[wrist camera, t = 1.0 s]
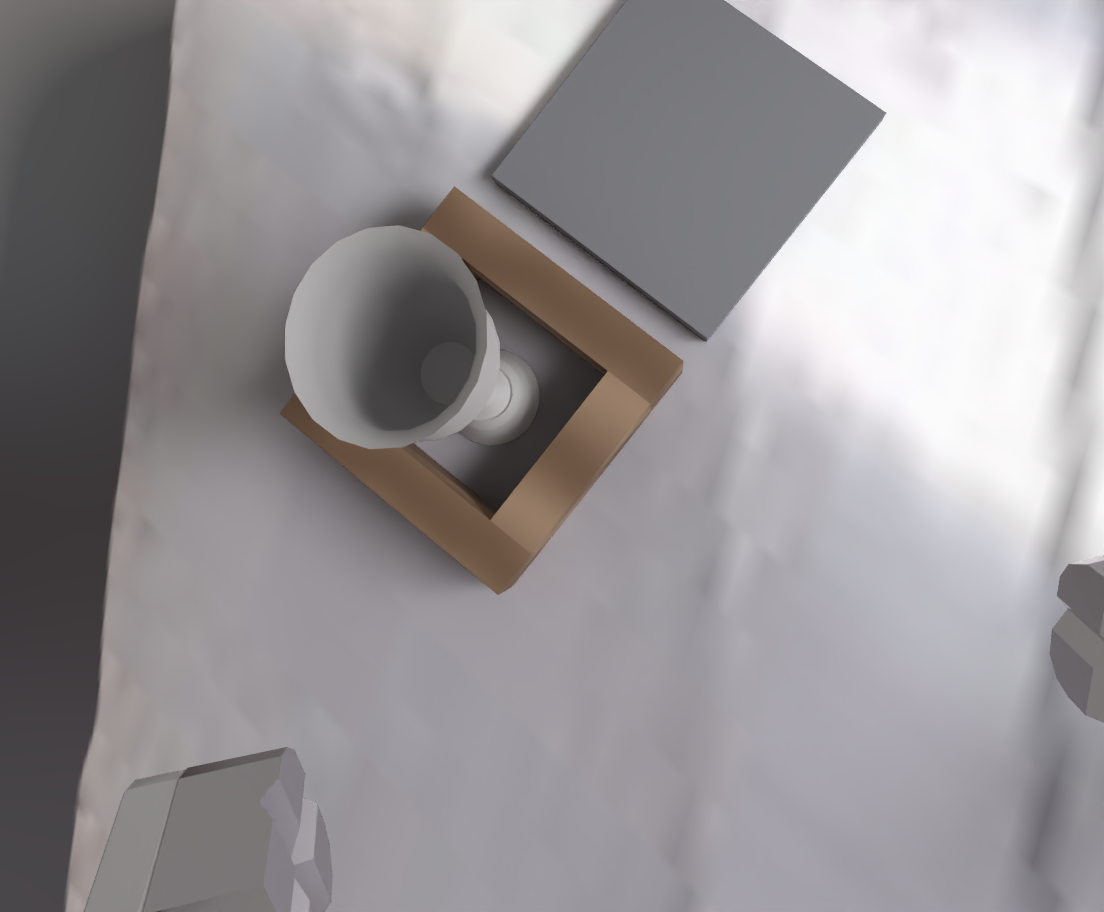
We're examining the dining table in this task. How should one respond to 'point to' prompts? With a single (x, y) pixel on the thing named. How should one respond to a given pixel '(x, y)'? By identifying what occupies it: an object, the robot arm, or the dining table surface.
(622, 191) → the grey mat
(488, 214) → the walnut holder
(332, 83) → the dining table surface
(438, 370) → the chalice
